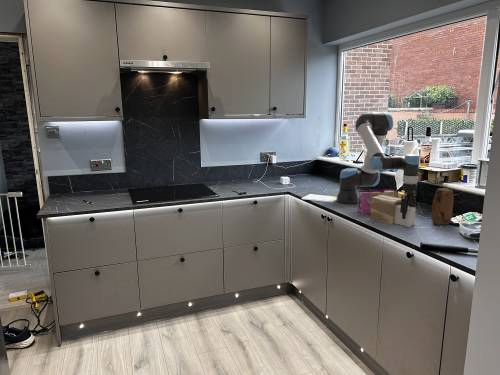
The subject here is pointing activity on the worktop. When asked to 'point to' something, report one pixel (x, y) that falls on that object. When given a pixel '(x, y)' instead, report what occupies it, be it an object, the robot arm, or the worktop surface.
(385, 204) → the tan wooden box
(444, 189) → the block
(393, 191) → the gum box
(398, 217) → the block
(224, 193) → the worktop surface
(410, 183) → the robot arm
